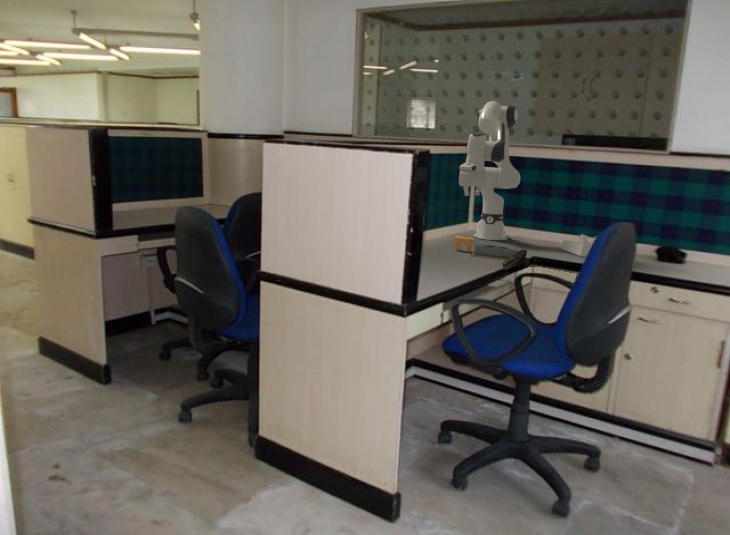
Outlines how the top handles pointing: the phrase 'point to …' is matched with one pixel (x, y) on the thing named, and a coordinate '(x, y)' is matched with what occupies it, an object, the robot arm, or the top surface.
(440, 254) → the top surface
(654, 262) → the top surface
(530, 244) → the top surface
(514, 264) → the toy gun
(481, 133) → the robot arm
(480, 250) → the rail board
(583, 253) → the tape dispenser
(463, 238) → the orange arch block
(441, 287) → the top surface
